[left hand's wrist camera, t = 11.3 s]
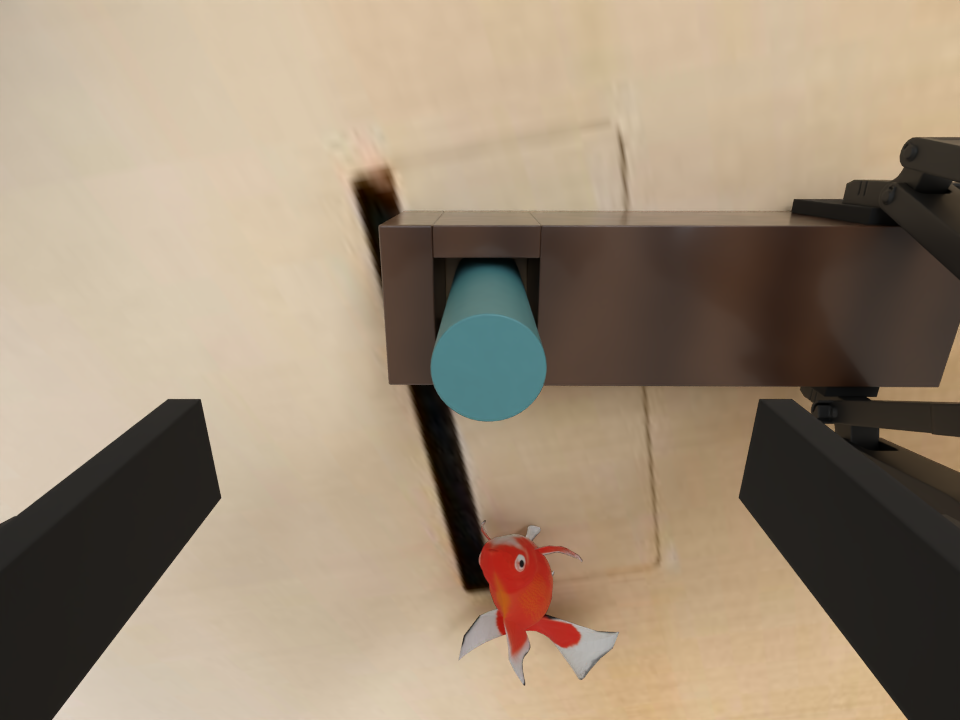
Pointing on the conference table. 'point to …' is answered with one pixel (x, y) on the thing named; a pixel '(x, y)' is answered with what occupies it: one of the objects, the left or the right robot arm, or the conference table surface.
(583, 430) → the conference table surface
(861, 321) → the walnut block
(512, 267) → the teal peg
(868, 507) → the left robot arm
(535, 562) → the fish
